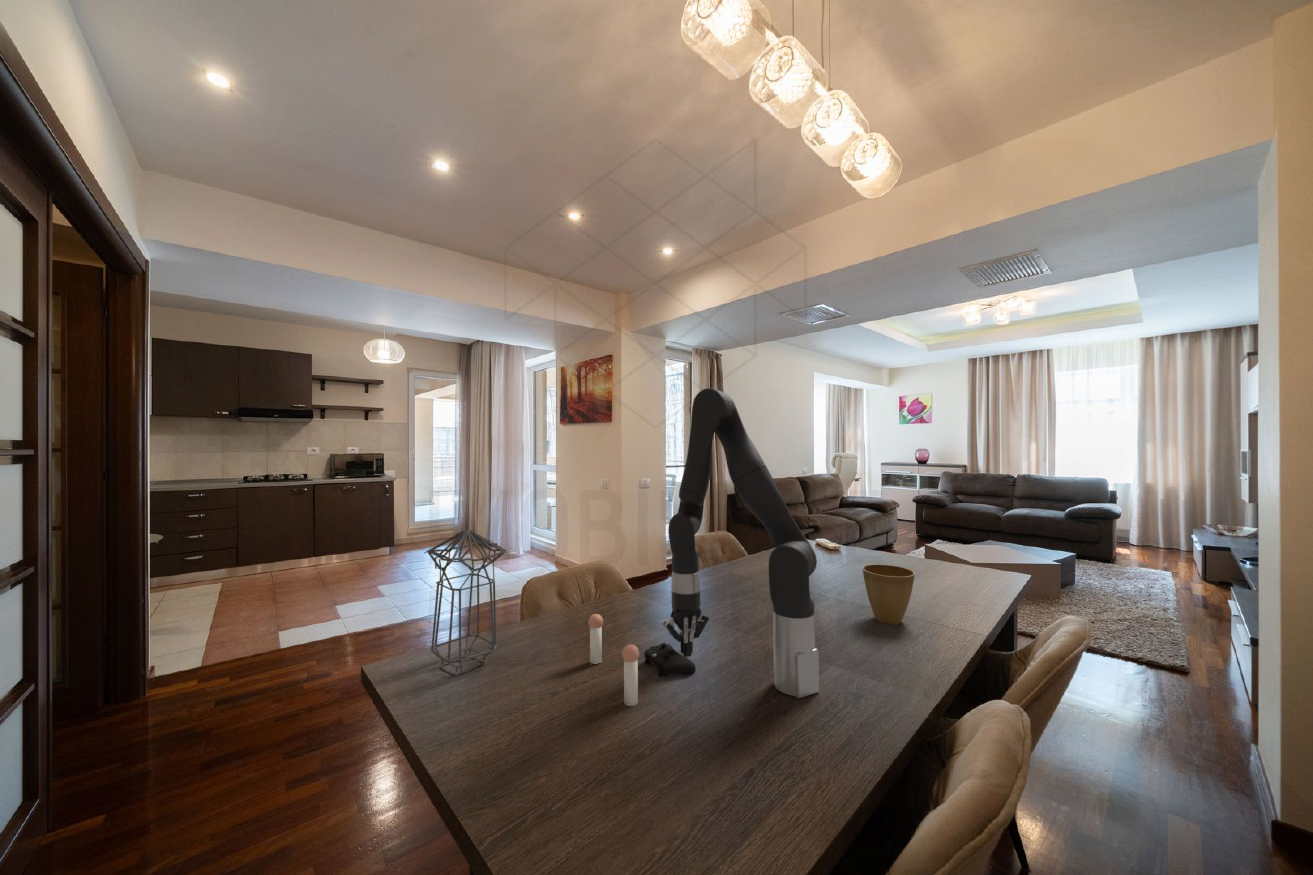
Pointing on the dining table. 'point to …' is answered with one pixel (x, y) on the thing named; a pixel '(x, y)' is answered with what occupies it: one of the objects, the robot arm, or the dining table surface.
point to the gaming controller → (668, 660)
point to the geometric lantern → (481, 542)
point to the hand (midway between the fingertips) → (686, 655)
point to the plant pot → (888, 591)
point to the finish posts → (628, 654)
